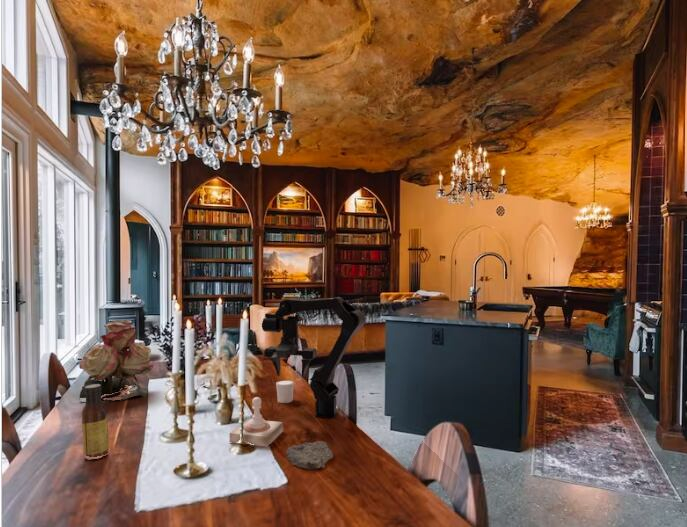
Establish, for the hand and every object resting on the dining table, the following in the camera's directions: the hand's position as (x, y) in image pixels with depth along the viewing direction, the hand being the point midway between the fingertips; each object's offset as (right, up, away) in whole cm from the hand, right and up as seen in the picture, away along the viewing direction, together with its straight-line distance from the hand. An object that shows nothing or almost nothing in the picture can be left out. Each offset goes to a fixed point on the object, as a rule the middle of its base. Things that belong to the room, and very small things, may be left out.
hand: (290, 376), depth 165 cm
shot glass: (-3, -12, +10) cm, 16 cm away
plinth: (-8, -13, -25) cm, 29 cm away
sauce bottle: (-50, -13, -37) cm, 64 cm away
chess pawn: (-8, -10, -25) cm, 27 cm away
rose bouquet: (-72, -13, +22) cm, 77 cm away
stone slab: (+11, -13, -39) cm, 42 cm away
